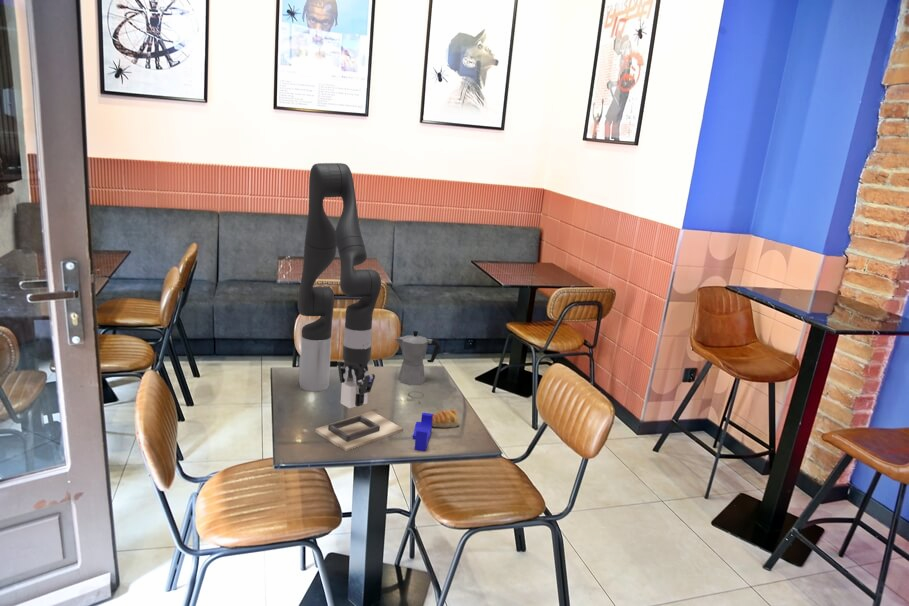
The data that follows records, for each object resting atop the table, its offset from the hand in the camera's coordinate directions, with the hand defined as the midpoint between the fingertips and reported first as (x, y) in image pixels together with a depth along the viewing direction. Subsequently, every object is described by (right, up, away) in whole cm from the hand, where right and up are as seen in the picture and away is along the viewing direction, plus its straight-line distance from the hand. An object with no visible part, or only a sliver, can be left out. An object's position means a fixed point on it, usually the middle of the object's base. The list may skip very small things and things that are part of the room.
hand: (354, 402), depth 171 cm
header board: (+1, -9, +4) cm, 10 cm away
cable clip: (+18, -12, +3) cm, 22 cm away
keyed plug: (0, 0, 0) cm, 0 cm away
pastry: (+21, -9, +15) cm, 28 cm away
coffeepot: (+14, 0, +45) cm, 47 cm away
